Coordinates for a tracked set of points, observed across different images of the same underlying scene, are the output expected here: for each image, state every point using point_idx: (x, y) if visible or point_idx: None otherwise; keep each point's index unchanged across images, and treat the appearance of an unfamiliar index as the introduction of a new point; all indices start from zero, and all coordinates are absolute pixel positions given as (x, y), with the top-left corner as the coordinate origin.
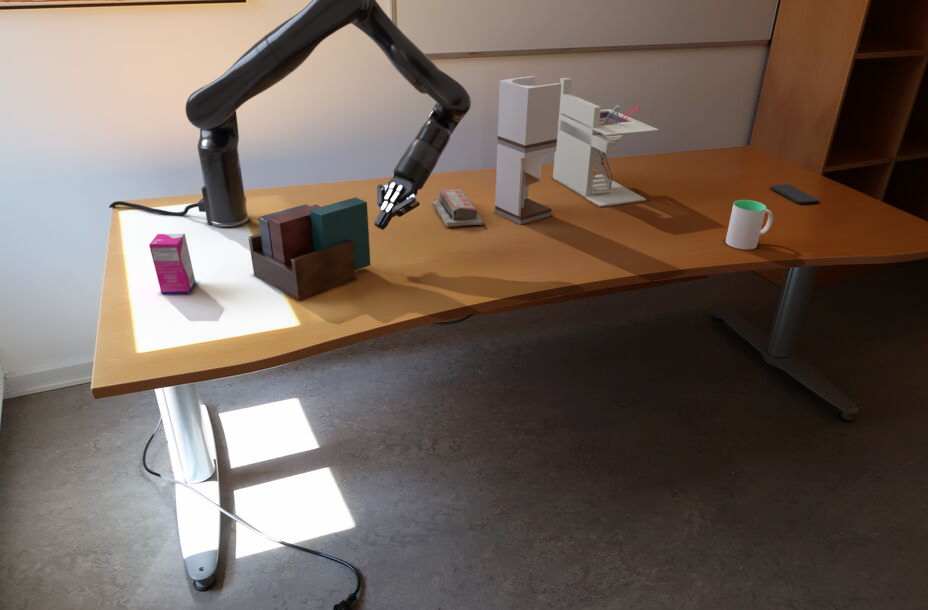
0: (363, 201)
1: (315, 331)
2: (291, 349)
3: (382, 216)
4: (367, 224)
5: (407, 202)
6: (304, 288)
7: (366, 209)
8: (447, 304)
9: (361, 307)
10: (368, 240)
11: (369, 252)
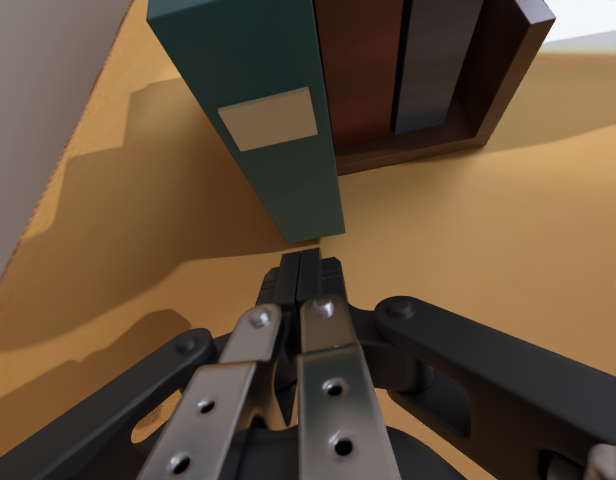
0: (172, 2)
1: (141, 60)
2: (127, 24)
3: (283, 280)
4: (229, 149)
5: (4, 467)
6: None
7: (183, 73)
8: (3, 317)
9: (147, 148)
10: (261, 198)
11: (275, 223)
